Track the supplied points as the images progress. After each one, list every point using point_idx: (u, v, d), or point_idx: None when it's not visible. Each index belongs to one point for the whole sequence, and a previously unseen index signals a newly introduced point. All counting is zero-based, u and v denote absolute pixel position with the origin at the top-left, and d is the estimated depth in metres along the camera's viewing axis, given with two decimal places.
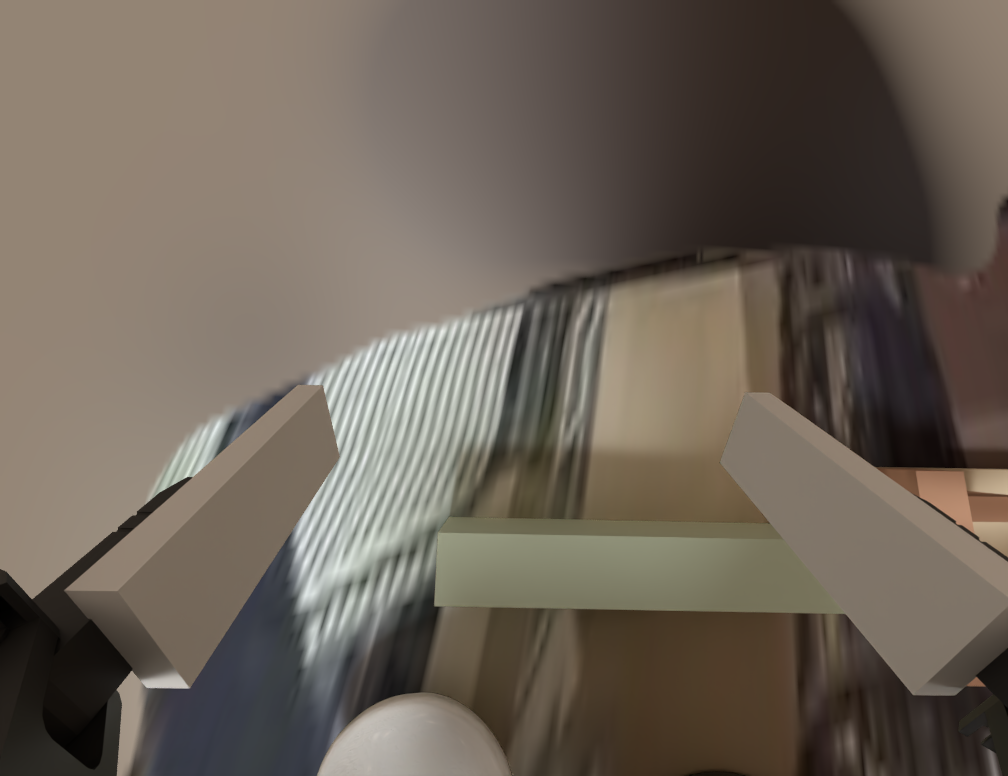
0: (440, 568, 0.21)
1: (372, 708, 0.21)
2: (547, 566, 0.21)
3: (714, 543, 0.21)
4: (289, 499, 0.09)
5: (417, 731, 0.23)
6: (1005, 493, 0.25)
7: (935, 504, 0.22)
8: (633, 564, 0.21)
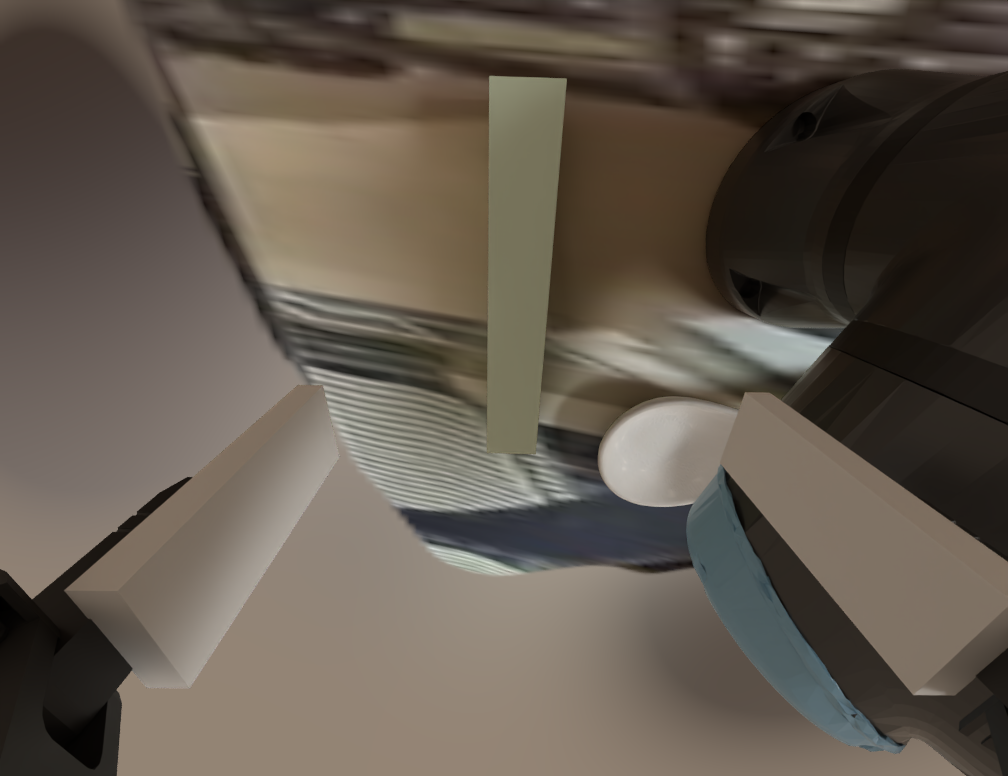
0: (511, 451, 0.29)
1: (602, 477, 0.33)
2: (511, 382, 0.27)
3: (492, 237, 0.22)
4: (289, 499, 0.09)
5: (628, 444, 0.34)
6: None
7: None
8: (510, 315, 0.24)
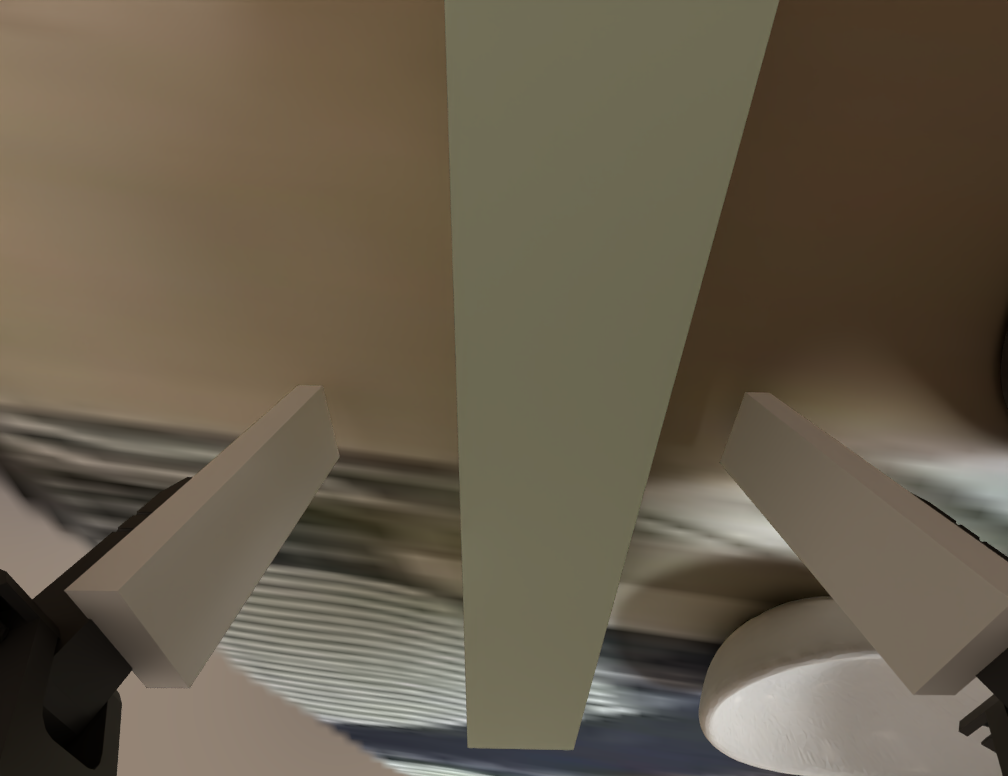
0: (520, 745, 0.14)
1: (704, 733, 0.17)
2: (524, 654, 0.11)
3: (471, 334, 0.06)
4: (289, 498, 0.09)
5: None
6: None
7: None
8: (526, 534, 0.08)
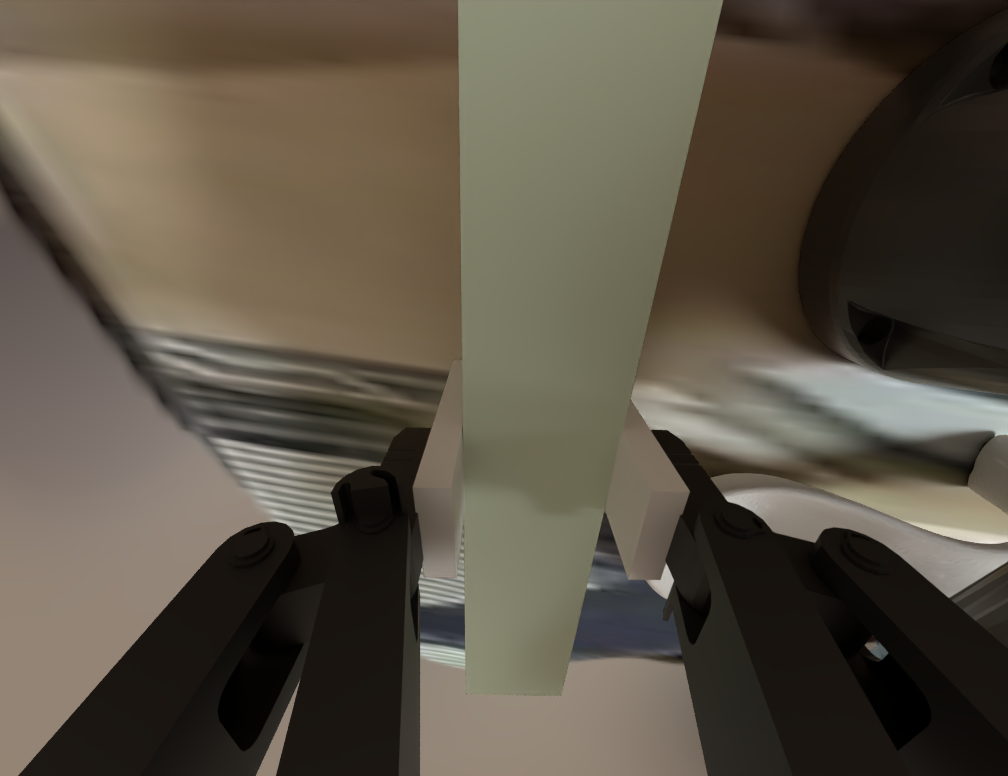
0: (513, 691, 0.15)
1: None
2: (517, 599, 0.12)
3: (475, 307, 0.08)
4: None
5: None
6: None
7: None
8: (519, 485, 0.10)
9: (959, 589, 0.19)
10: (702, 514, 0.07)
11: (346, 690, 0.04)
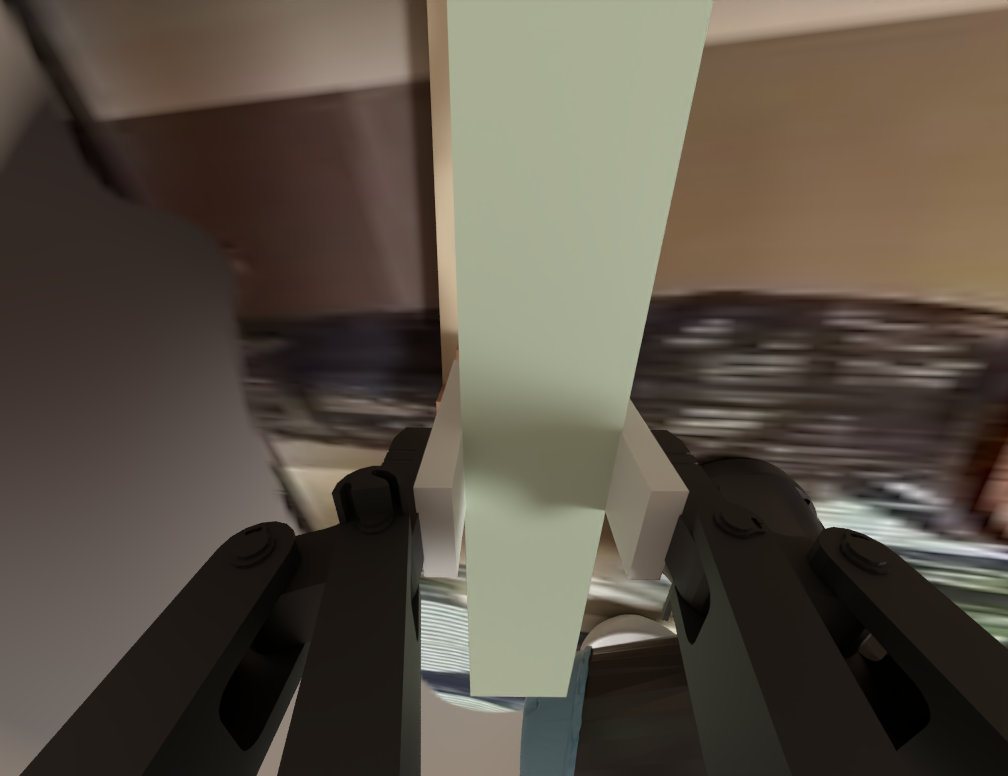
0: (518, 693, 0.15)
1: None
2: (520, 601, 0.12)
3: (471, 310, 0.08)
4: None
5: (603, 638, 0.44)
6: None
7: None
8: (519, 486, 0.10)
9: None
10: (701, 514, 0.07)
11: (347, 690, 0.04)
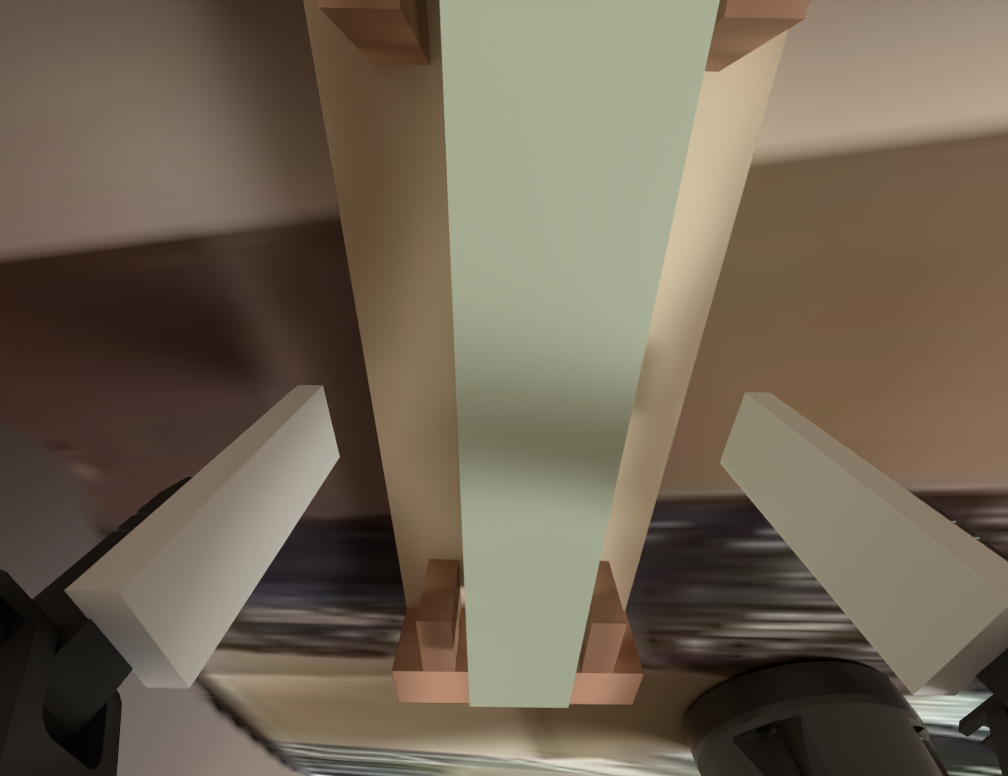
0: (518, 704, 0.14)
1: None
2: (520, 610, 0.12)
3: (467, 305, 0.07)
4: (289, 499, 0.09)
5: None
6: (427, 523, 0.17)
7: (437, 694, 0.18)
8: (519, 491, 0.09)
9: None
10: None
11: None
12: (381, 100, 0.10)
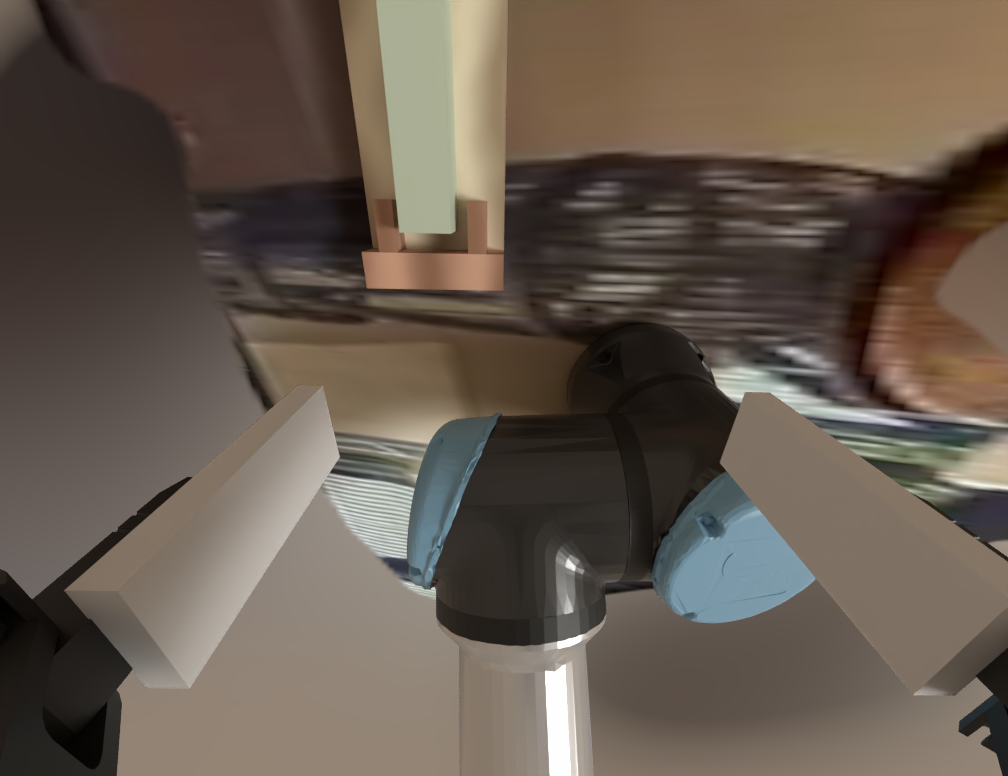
0: (424, 229, 0.28)
1: None
2: (414, 132, 0.25)
3: None
4: (289, 499, 0.09)
5: None
6: (381, 165, 0.30)
7: (388, 278, 0.31)
8: (403, 34, 0.23)
9: None
10: None
11: None
12: None
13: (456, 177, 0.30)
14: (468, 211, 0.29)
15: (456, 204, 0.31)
